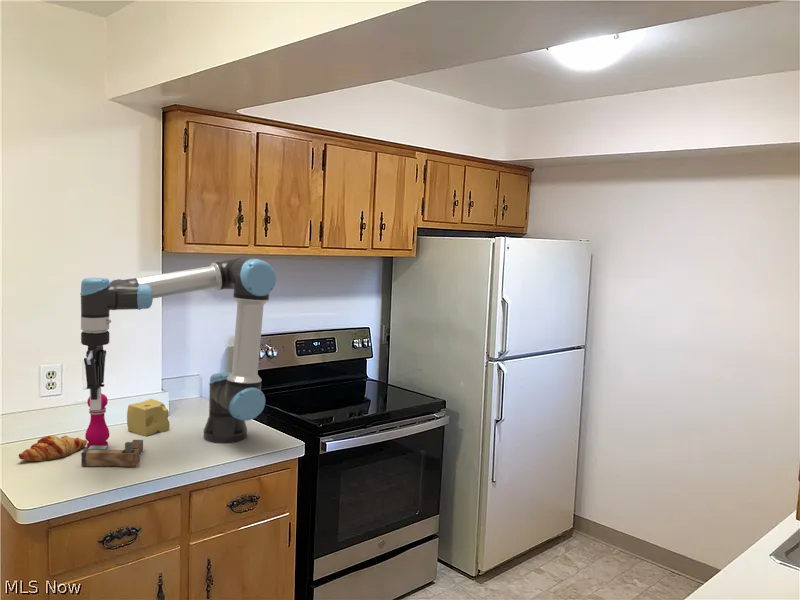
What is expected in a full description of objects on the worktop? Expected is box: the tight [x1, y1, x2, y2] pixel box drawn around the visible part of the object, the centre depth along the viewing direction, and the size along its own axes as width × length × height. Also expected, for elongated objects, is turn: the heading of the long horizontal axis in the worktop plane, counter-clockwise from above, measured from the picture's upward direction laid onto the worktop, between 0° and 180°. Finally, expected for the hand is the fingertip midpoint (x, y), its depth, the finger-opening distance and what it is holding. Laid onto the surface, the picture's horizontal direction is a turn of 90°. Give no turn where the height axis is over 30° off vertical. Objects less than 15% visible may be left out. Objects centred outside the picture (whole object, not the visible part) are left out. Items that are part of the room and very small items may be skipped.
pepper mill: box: [84, 393, 110, 449], centre depth 212 cm, size 7×7×20 cm
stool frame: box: [88, 439, 144, 456], centre depth 204 cm, size 14×13×7 cm
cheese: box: [126, 398, 171, 437], centre depth 233 cm, size 10×11×10 cm
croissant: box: [18, 434, 88, 462], centre depth 205 cm, size 21×10×8 cm, turn 147°
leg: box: [80, 448, 141, 468], centre depth 199 cm, size 16×5×4 cm, turn 98°
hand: (95, 409), depth 191 cm, fingers closed
